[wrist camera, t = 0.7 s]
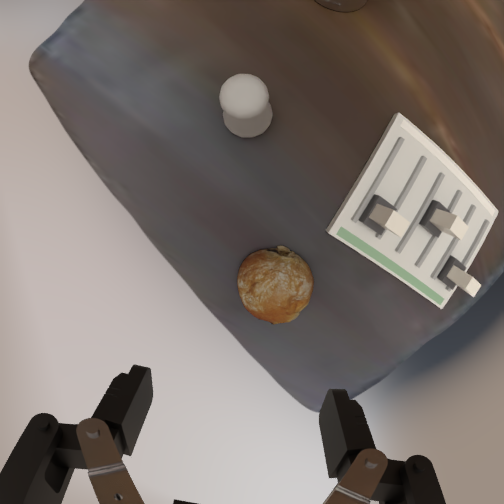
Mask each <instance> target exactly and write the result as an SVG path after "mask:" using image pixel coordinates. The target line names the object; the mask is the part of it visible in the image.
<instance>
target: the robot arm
mask: <svg viewBox="0 0 504 504" xmlns="http://www.w3.org/2000/svg"><path fill="white" fill-rule="evenodd" d="M315 1H316V2H317V3H319V4H321V5H322V6H324V7H326V8H329V9H332V10H335V11H341V12H351V11H356V10H358V9H360V8H361V7H363V6H364V4H365V3H366V2H367V0H315ZM152 398H153V387H152V377H151V369H150V368H148V367H143V366H138V365H133V366H132V368H131V370H130V372H129V374H125V373H121V374H119V375H118V376H117V377H115V378H114V379H113V381H112V382H111V384H110V386H109V388H108V389H107V391H106V394H104V396H103V398H102V400H101V402H100V403H99V405H98V407H97V409H96V410H95V412H94V414H93V416H92V417H91V418H88V419H84V420H82V421H81V422H80V423H79V424H75V425H74V424H62V423H58V421H57V419H56V418H55V417H54V416H53V415H51V414H48V413H41V414H37V415H35V416H34V417H33V418H32V419H31V420H30V422H29V424H28V425H27V427H26V429H25V430H24V432H23V434H22V435H21V437H20V439H19V440H18V442H17V444H16V446H15V447H14V449H13V451H12V453H11V454H10V456H9V458H8V460H7V462H6V464H5V466H4V467H3V469H2V471H1V473H0V504H61V503H62V500H63V498H64V495H65V492H66V490H67V487H68V484H69V482H70V479H71V476H72V474H73V472H74V469H75V468H78V469H88V471H89V472H88V475H89V478H90V481H91V484H92V486H93V489H94V491H95V494H96V496H97V499H98V501H99V503H100V504H144V502H143V500H142V498H141V496H140V494H139V493H138V491H137V489H136V487H135V485H134V483H133V481H132V479H131V477H130V475H129V473H128V471H127V469H126V467H125V465H124V464H123V461H122V456H123V454H126V455H129V456H131V455H132V452H133V449H134V446H135V444H136V441H137V438H138V436H139V433H140V431H141V428H142V426H143V423H144V421H145V418H146V415H147V413H148V410H149V408H150V405H151V403H152ZM319 425H320V431H321V435H322V441H323V447H324V452H325V457H326V464H327V469H328V475H329V478H337V479H338V484H337V485H336V486H335V488H334V489H333V491H332V492H331V493H330V495H329V496H328V497H327V499H326V500H325V501H324V503H323V504H370V501H369V500H374V501H379V504H446V503H445V500H444V497H443V494H442V490H441V487H440V485H439V482H438V479H437V476H436V473H435V470H434V468H433V465H432V463H431V461H430V460H429V459H428V458H426V457H424V456H421V455H414V456H411V457H409V458H408V459H407V461H406V462H404V461H397V460H390V459H387V457H386V456H385V454H383V453H382V452H381V451H379V450H377V449H376V447H375V444H374V441H373V438H372V435H371V432H370V429H369V426H368V424H367V421H366V418H365V415H364V412H363V409H362V407H361V406H360V405H359V404H358V403H357V401H356V400H349V397H348V394H347V391H346V390H345V389H329V390H328V392H327V395H326V397H325V400H324V402H323V405H322V408H321V410H320V414H319ZM173 504H197V503H191V502H185V501H179V500H174V503H173Z"/></svg>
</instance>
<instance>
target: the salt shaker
mask: <svg viewBox="0 0 504 504" xmlns="http://www.w3.org/2000/svg"><path fill="white" fill-rule="evenodd" d="M219 99H220V104H221V107H222V109H223V110H224V111H223V118H224V123H225V125H226V127H227V128H228V129H229V130H230V131H231V132H232V133H233V134H236V135H238V136H240V137H255V136H257V135H259V134H262V133H264V131H265V130H266V129H267V128H268V127H269V125H270V123H271V119H272V116H273V113H272V109H271V105H270V103H269V102H268V100H269V94H268V90H267V87H266V85H265V84H264V83H263V82H262V81H261V80H260V78H258V77H256V76H253V75H251V74H237V75H235V76H233V77H231V78H229V79H228V80H227V81H226V82H225V83H224V84H223V85H222V87H221V91H220V95H219Z"/></svg>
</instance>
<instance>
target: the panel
mask: <svg viewBox="0 0 504 504" xmlns="http://www.w3.org/2000/svg"><path fill="white" fill-rule="evenodd" d="M374 194H375V195H379V196H381V197H382V198H383V199H385V200H386V201H387V202H389V203H390V204H391V205H393V206H394V207H395V208H397V210H396V212H397V213H399V214H400V215H401V216H402V217H404V218H405V219H406V220H407V221H409V222H410V224H409V226H408V228H407V229H406V231H405V233H404V234H403V236H402V237H401V238H400V237H399V236H397V235H395V234H394V233H392V232H390V231H388V230H387V229H385V230H384V232H383V233H382V235H379V234H378V233H376V232H375V231H373V230H372V229H370V228H369V227H367V226H366V225H365V224H363V223H362V222H360V221H359V218H360V216H361V215H362V213H363V211H364V210H365V208H366V207H367V205H368V203H369V202H370V200H371V198H372V197H373V195H374ZM432 200H435V201H439V202H440V203H441V204H442V205H443V206H444V207H445V208H447V209H448V210H449V211H450V212H451V213H452V214H455V215H457V216H458V217H460V218H461V219H462V220H463V222H464V223H465V224H466V225H467V226H468V227H469V228H468V230H467V231H466V233H465V235H464V237H463V239H462V240H459V239H457V238H455V237H453V236H451V235H449V234H446V233H444V232H442V233H441V234H440V236H439V238H437V237H435V236H433V235H431V234H430V233H429V232H428V231H427V230H425V229H424V228H423V227H422V226H421V225H419V222H420V220H421V219H422V217H423V215H424V213H425V212H426V210H427V208H428V206H429V205H430V203H431V201H432ZM498 212H499V211H498V210H497V209H496V208H495V206H494V205H493V204H492V203H491V202H490V200H489V199H488V198H487V197H486V196H485V195H484V193H483V192H482V191H481V190H480V189H479V188H478V187H477V185H476V184H475V183H474V182H473V181H472V180H471V179H470V178H469V177H468V176H467V175H466V174H465V172H464V171H463V170H462V169H461V168H460V167H459V166H458V165H457V164H456V163H455V162H454V161H453V160H452V159H451V158H450V157H449V156H448V155H447V154H446V153H445V152H444V151H443V150H441V149H440V148H439V147H438V146H437V145H436V144H435V143H434V142H433V141H432V140H431V139H430V138H428V137H427V136H426V135H425V134H424V133H423V132H422V131H421V130H419V129H418V128H417V127H416V126H415V125H414V124H412V123H411V122H410V121H409V120H408V119H406V118H405V117H404V116H403V115H401V114H400V113H396V114H394V115H393V117H392V119H391V121H390V123H389V124H388V126H387V128H386V130H385V132H384V133H383V135H382V137H381V139H380V140H379V142H378V144H377V146H376V148H375V149H374V151H373V153H372V154H371V156H370V158H369V160H368V161H367V163H366V165H365V166H364V168H363V170H362V172H361V173H360V175H359V177H358V178H357V180H356V182H355V183H354V185H353V187H352V188H351V190H350V192H349V193H348V195H347V197H346V198H345V200H344V202H343V203H342V205H341V206H340V208H339V210H338V211H337V213H336V215H335V216H334V218H333V219H332V221H331V223H330V224H329V226H328V227H327V229H326V231H327V232H328V233H329V234H330V235H332V236H334V237H335V238H337V239H338V240H340V241H342V242H343V243H345V244H346V245H348V246H349V247H351V248H353V249H354V250H356V251H357V252H359V253H360V254H362V255H363V256H365V257H366V258H368V259H369V260H371V261H373V262H374V263H376V264H377V265H379V266H380V267H382V268H383V269H385V270H386V271H388V272H389V273H391V274H392V275H393V276H395V277H396V278H398V279H399V280H401V281H402V282H404V283H405V284H407V285H408V286H410V287H411V288H412V289H414V290H415V291H417V292H418V293H420V294H421V295H422V296H424V297H425V298H427V299H428V300H430V301H431V302H432V303H434V304H435V305H436V306H438V307H439V308H441V309H442V308H443V307H444V306H445V304H446V303H447V301H448V300H449V298H450V297H451V295H452V294H453V292H454V291H455V289H456V288H457V286H458V285H456V286H455V287H454V289H453V290H452V289H451V288H449V287H448V286H447V285H445V284H444V283H443V282H442V281H440V280H439V279H438V278H437V276H438V274H439V273H440V271H441V269H442V268H443V266H444V265H445V263H446V261H447V260H448V258H449V256H450V255H451V256H453V257H455V258H456V259H457V260H459V261H460V262H461V263H462V264H463V265H464V266H465V267H466V270H465V271H464V272H467V270H468V268H469V267H470V265H471V263H472V261H473V260H474V258H475V256H476V254H477V253H478V251H479V249H480V247H481V245H482V244H483V242H484V240H485V238H486V236H487V234H488V232H489V230H490V228H491V226H492V224H493V222H494V220H495V218H496V216H497V214H498Z"/></svg>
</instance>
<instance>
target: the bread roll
mask: <svg viewBox="0 0 504 504" xmlns="http://www.w3.org/2000/svg"><path fill="white" fill-rule="evenodd" d="M237 283H238V291H239V295H240V298H241V300H242V303H243V305H244V307H245V308H246V309H247V311H249V312H250V313H251V314H252V315H253V316H254V317H256V318H258V319H261V320H265V321H269V322H271V324H278V323H285V322H290V321H291V320H293V319H295V318H296V317H298V315H299V314H300V311H301V310H302V309H304V308H305V307H306V306H307V304H308V302H309V301H310V297H311V294H312V291H313V284H314V280H313V276H312V273H311V270H310V268H309V266H308V264H307V263H306V262H305V261H304V260H303V259H302V258H301V257H300V256H299V255H297V254H295V253H294V252H293V251H292V252H291V251H290V250H289V248H287V247H284V246H277V248H276V249H274V248H271V249H264V250H259V251H256V252H254V253H252V254H250V255H249V256H248V257H247V258H246V259H245V260H244V261H243V263H242V264H241V266H240V268H239V272H238V276H237Z"/></svg>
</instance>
